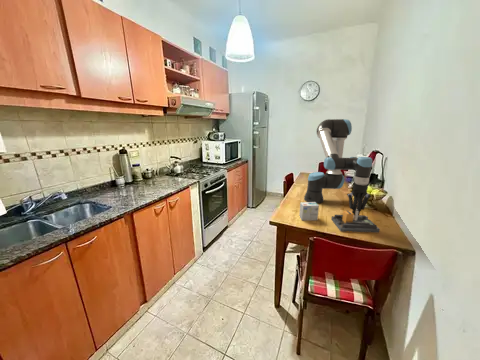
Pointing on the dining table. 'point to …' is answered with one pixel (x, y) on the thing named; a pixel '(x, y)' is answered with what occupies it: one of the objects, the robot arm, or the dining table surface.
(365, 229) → the breaker panel
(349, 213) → the lever
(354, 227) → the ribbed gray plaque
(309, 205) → the light bulb box
